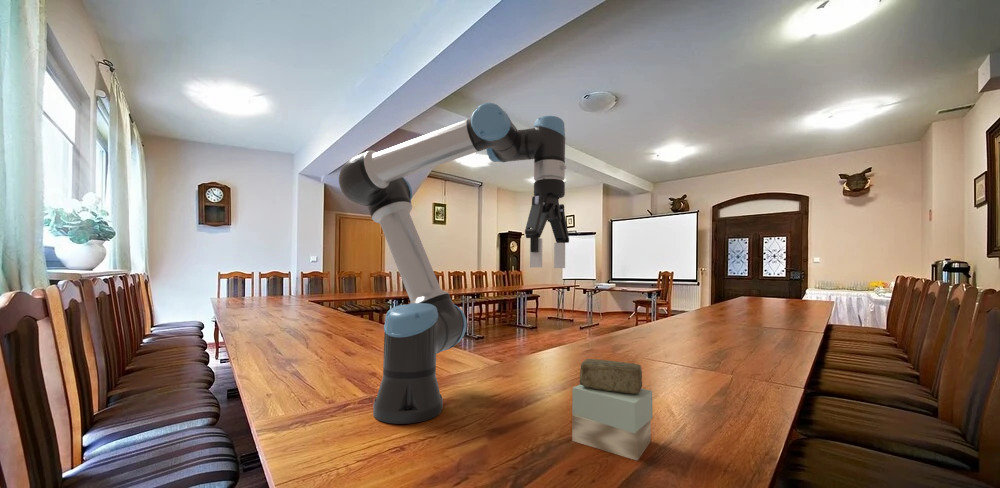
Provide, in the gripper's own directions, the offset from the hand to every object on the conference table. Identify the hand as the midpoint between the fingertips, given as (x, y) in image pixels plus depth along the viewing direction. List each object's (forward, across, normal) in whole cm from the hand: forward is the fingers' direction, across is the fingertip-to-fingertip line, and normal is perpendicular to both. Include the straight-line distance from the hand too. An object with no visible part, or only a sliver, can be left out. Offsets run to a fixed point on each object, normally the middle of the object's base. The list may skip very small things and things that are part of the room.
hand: (548, 267), depth 89 cm
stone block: (+23, -9, -17) cm, 30 cm away
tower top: (+28, -9, -18) cm, 34 cm away
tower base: (+33, -9, -17) cm, 38 cm away
